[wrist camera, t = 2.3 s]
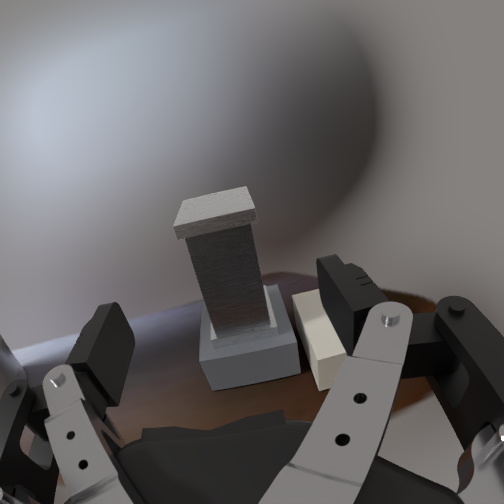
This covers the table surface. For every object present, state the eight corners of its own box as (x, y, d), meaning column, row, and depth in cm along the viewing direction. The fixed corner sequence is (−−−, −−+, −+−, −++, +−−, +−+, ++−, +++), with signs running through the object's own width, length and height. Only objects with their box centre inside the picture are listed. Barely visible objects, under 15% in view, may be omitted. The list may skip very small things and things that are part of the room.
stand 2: (319, 391, 23) (317, 360, 21) (295, 326, 31) (291, 295, 29) (403, 363, 23) (410, 330, 21) (366, 307, 31) (366, 276, 29)
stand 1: (212, 390, 25) (199, 361, 23) (211, 328, 33) (201, 300, 31) (300, 373, 25) (296, 341, 23) (282, 314, 33) (277, 284, 31)
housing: (213, 348, 24) (173, 226, 19) (213, 304, 30) (183, 200, 25) (278, 335, 24) (255, 207, 20) (267, 293, 30) (246, 186, 25)
